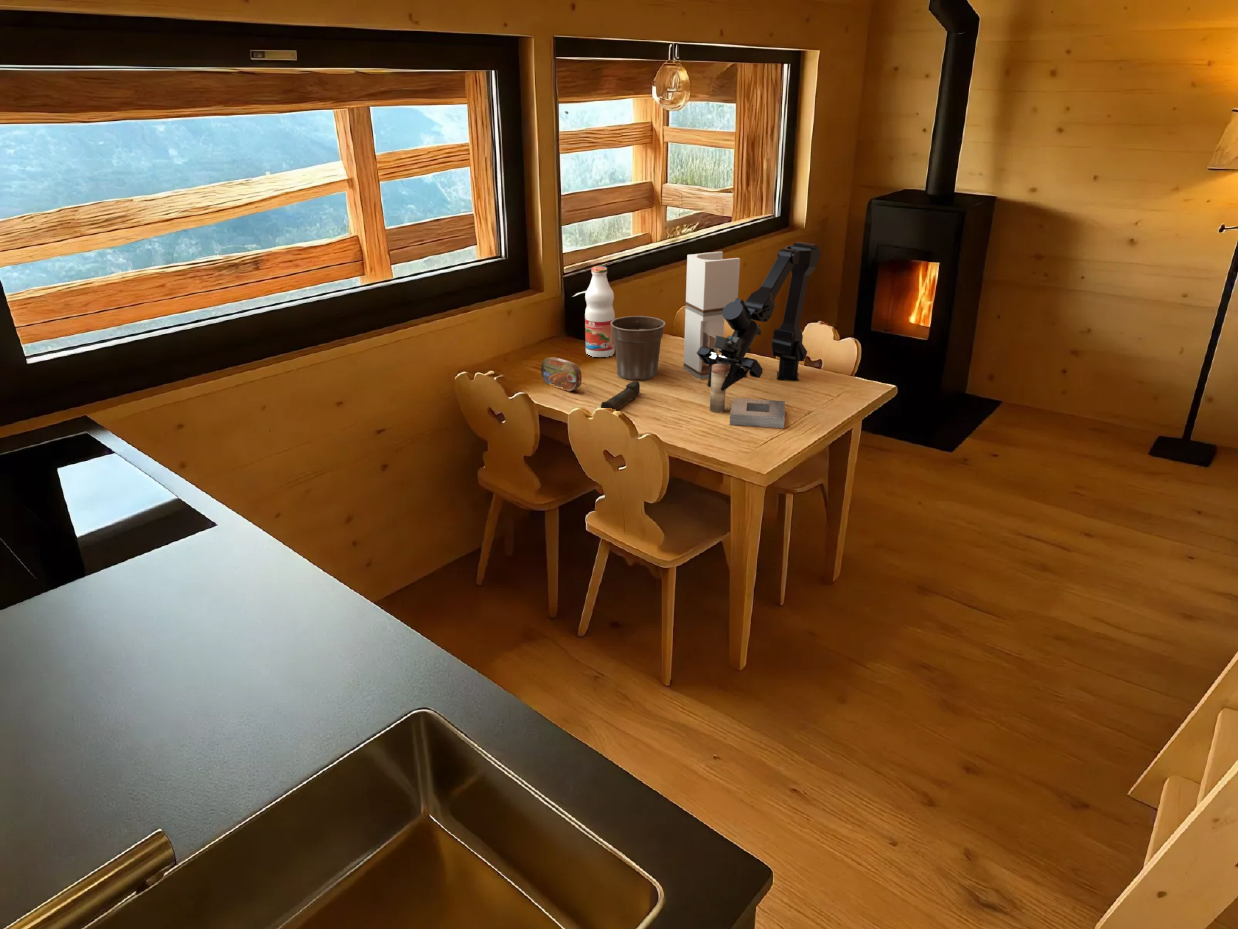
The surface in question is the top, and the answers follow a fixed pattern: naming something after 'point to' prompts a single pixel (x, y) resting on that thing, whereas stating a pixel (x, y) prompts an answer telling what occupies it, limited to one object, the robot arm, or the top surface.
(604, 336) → the fruit juice
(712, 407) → the beech pin
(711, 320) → the white tower stand
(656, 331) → the plant pot
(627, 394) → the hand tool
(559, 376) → the tin
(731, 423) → the square hole block
